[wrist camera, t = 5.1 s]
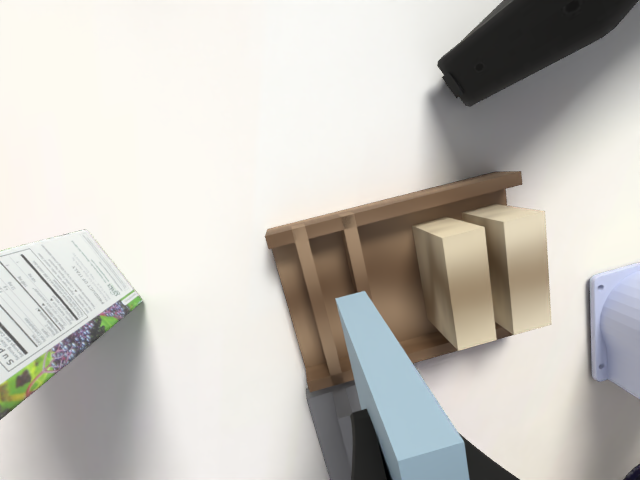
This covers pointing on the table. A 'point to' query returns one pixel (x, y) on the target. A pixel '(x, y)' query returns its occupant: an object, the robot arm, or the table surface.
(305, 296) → the rack
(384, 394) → the tall board
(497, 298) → the offcut
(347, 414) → the holder
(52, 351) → the syrup box
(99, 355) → the table surface
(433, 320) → the offcut
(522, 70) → the magazine
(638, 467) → the storage jar
